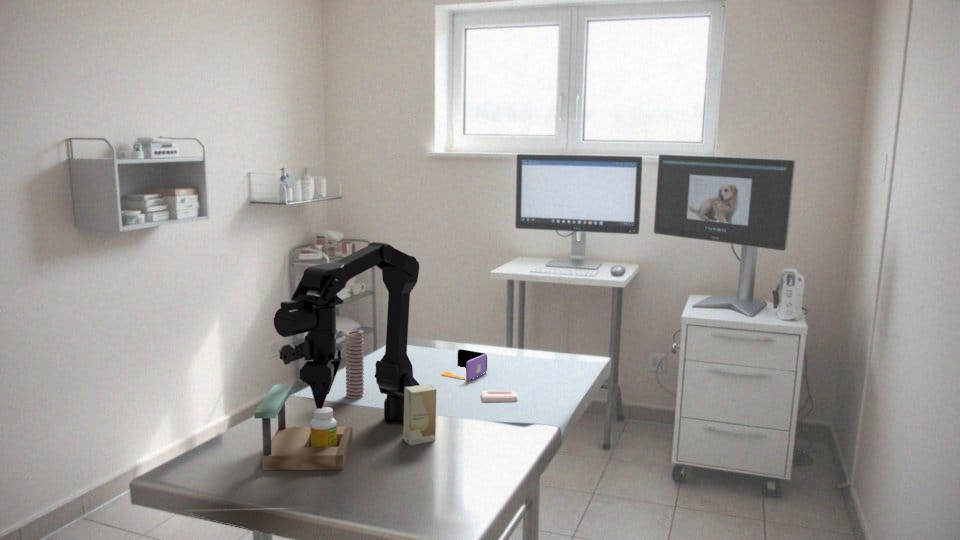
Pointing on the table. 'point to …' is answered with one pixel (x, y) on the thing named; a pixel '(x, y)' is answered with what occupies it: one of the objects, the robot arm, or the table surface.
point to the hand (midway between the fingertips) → (323, 400)
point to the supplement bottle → (323, 428)
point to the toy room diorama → (470, 364)
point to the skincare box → (419, 414)
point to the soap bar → (499, 396)
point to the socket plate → (296, 439)
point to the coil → (354, 364)
